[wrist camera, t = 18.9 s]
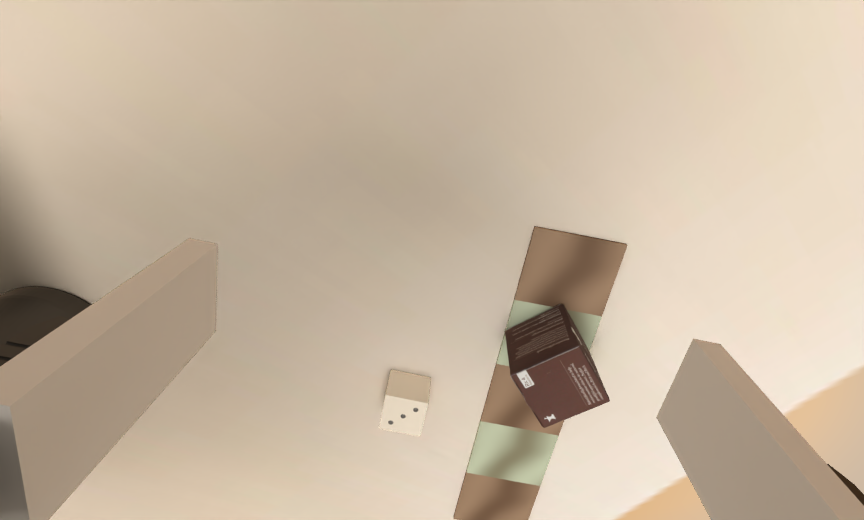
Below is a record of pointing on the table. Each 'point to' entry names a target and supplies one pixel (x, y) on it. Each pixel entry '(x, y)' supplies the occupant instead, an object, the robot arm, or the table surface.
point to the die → (405, 403)
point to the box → (553, 367)
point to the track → (505, 406)
